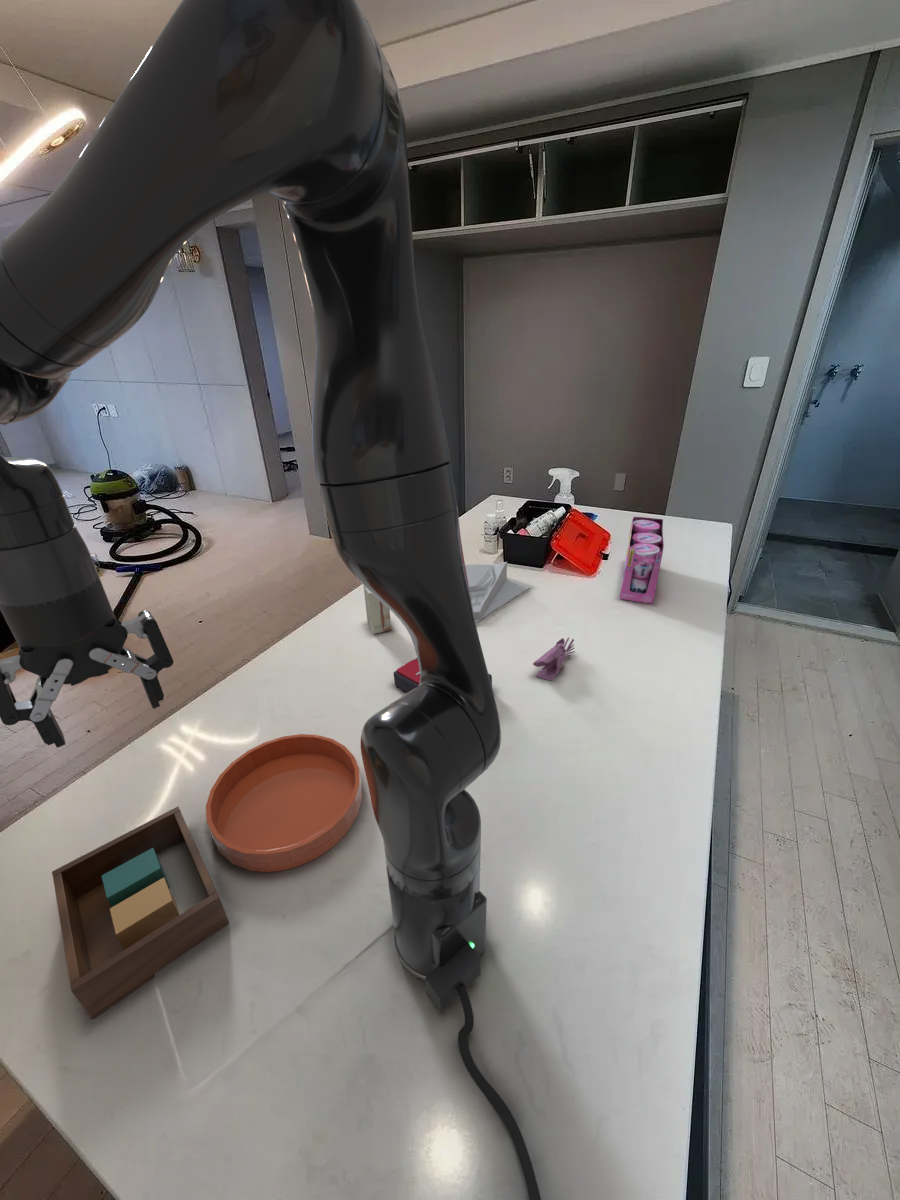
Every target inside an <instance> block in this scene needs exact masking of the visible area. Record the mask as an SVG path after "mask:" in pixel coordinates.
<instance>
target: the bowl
mask: <svg viewBox="0 0 900 1200" xmlns="http://www.w3.org/2000/svg"><path fill="white" fill-rule="evenodd" d="M359 767H360V766H359V765H358V762H357V760H356V757H355V756H354V754H353V753H352V752H351V750H349V748H348V747H346V746H345V745H344V744H342V743H340V742H339V741H337V740H335V739H333V738H330V737H326V736H322V735H319V734H306V733H298V734H292V735H291V734H290V735H285V736H284V735H283V736H281V737H277V738H274V739H270V740H266V741H265V742H262V743H260V744H258V745H256V746H255V747H252V748H251V749H249V750H247V751H246V752H244V753H243V754H241V755H240V756H238V757H237V758H235V760H233V761H232V762H231V763H230V764H229V765H228V766H226V768H225V769H224V770H223V771H222V772H221V773H220V775H218V777H217V779H216V781H215V782H214V784H213V785H212V787H211V789H210V791H209V793H208V798H207V801H206V803H205V804H206V805H205V818H206V825H207V827H208V831H209V832H210V835H211V837H212V840H213V842H214V844H215V847H216V848H217V850H218V853H219V854H220V855H221V856H222V857H224V858H225V859H226V860H227V861H228V862H229V863H231V864H232V865H234V866H236V867H239V868H241V869H244V870H247V871H252V872H259V873H275V872H280V871H287V870H290V869H294V868H297V867H300V866H303V865H305V864H307V863H310V862H312V861H314V860H316V859H317V858H319V857H321V856H322V855H324V854H325V853H326V852H328V851H329V850H331V849H332V848H334V847H335V845H336V844H338V843H339V842H340V841H341V840H342V839H343V838H344V837H345V835H346V834H347V833H348V832H349V830H350V829H351V827H352V826H353V824H354V822H355V820H356V819H357V817H358V815H359V812H360V808H361V805H362V802H363V788H362V779H361V771H360V768H359Z"/></svg>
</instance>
